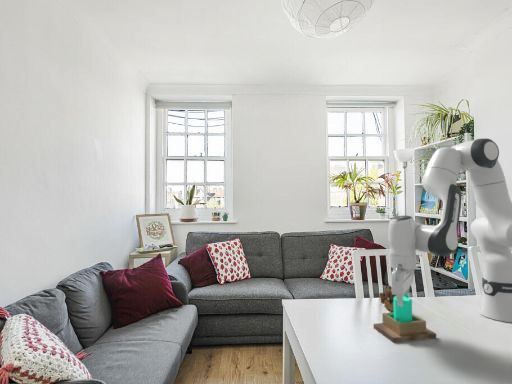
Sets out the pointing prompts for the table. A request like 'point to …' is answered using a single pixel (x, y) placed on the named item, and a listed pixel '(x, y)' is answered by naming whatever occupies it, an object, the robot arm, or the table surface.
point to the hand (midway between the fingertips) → (403, 301)
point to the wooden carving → (387, 298)
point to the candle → (403, 310)
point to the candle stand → (403, 329)
